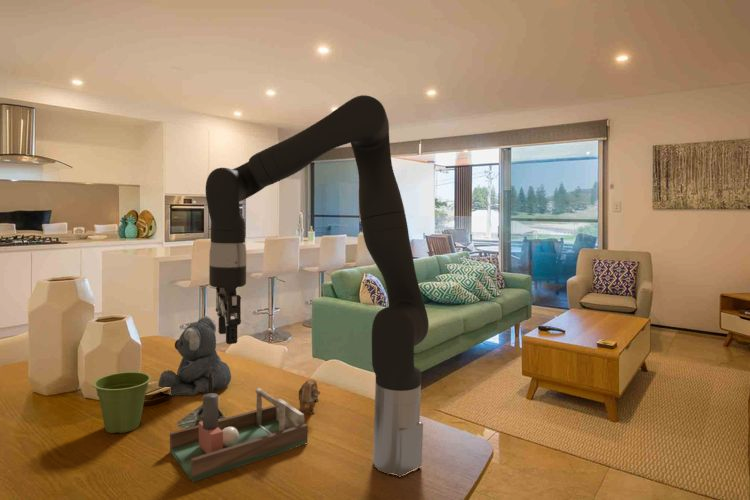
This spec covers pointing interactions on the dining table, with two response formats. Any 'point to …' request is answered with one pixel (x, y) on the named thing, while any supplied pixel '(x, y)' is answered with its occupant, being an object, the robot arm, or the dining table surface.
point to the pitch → (242, 439)
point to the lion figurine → (308, 394)
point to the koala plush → (197, 361)
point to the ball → (230, 436)
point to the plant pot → (122, 399)
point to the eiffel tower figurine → (198, 412)
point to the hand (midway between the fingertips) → (227, 338)
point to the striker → (210, 425)
